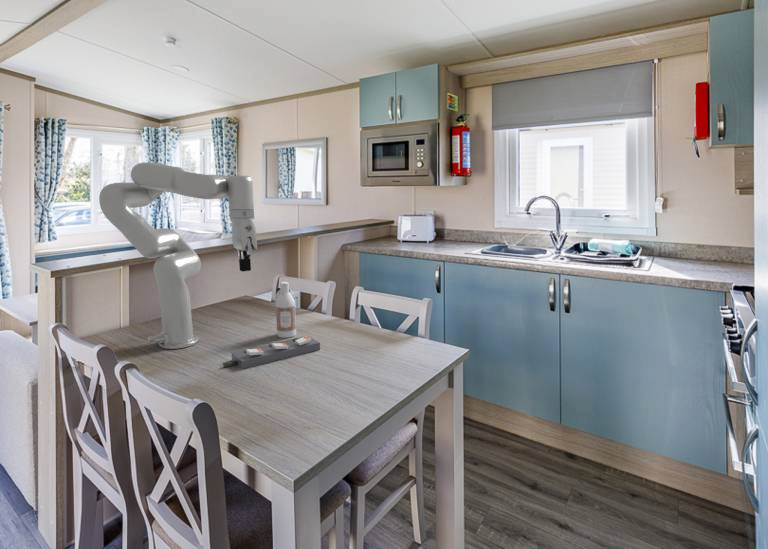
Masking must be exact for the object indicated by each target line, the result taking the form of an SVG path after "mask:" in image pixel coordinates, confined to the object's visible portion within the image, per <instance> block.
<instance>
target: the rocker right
mask: <svg viewBox="0 0 768 549" xmlns="http://www.w3.org/2000/svg"><path fill="white" fill-rule="evenodd" d="M304 336H305V337H303V336H301V337H302V338H300V339H297V340H295V343H296V344H298V345H303V344H305V343H307V342H310V341H311V338H312V337H311V338H309V337H310V336H309V335H304ZM308 336H309V337H308Z"/></svg>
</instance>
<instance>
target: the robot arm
mask: <svg viewBox="0 0 768 549" xmlns="http://www.w3.org/2000/svg"><path fill="white" fill-rule="evenodd" d="M130 177H131V180H132V181H133V182H113V183H109V184H107V185H105V186H104V187H103V188H102V189H101V190H100V193H99V197H98V200H99V202H98V203H99V206H100V210H101V211H102V214H103V216H104V217H105V218H106V219H107V220H108V222H109V223H111V224H112V225H113V226H114V227H115V228H116V229H117V230H118V231H119V232H120V233H121V234H122V235H123V236H124V237H125V239H127V240H128V242H130V243H129V244H131V245H132V246H133V248H134V249H136V251H137V252H139V254H140V255H142V256H143V258H146V259H155V258H158V259H157V260H156V261H155V262H154V264H153V275H154V278H155V283H156V284H157V286H156V287H157V289H158V296H159V304H160V315H161V324H162V325H161V326H162V331H160V333H158V334H157V335H152V336H148V338H147V340H148V343H154V344H156V343H158V345H159V347H160V348H162V349H165V350H175V349H176V350H177V349H184V348H189V347H191V346H194V345H196V344H197V343H198V342H199V337H198V336H197V335H196V334H194V329H193V318H192V307H191V306H192V304H191V298H190V297H191V296H190V290H189V287H188V285H187V284H186V282H185V280H186V279H188V278H191V277H194V276H196V275H197V274H198V273H199V272H200V271H201V270H202V269H201V268H202V261H201V259H200V257H199V255H198V254H197V252H195V250H194V249H193V248H192V247H191V246H190V245H189V244H188V243H187V241H186V240H185V239H184V238H183V237H182V236H181V235H180V234H179V233H178V232H177V231H175V230H173V229H171V228H165V227H163V228H154V227H153V226H152V225H151V224H149V222H148V221H147V220H146V219H145V218H144V217H143V216H142V215H141V214H139V213H138V212H135V211H134V210H133V209H132V208H141V207H146V206H149V205H150V204H151V203H153V202H154V201H155V200H156V199H158V198H159V197H160V196H161V195H162V194H164V192H165V193H172V194H176V195H181V196H184V197H190V198H195V199H196V198H197V199H201V200H217V199H218V200H220V199H228V207H229V220H231V228H232V229H231V238H232V239H231V240H232V245H233V246H232V247H233V248H234V249H236V251H237V254H238V255H237V256H238V263H239V264H238V266H239V271H241V272H251V271H252V265H251V259H252V258H251V256H252V255H253V251H256V250H257V249H258V241H257V232H256V231H257V230H256V225H255V221H254V220H255V210H254V209H255V206H254V205H255V204H254V190H253V189H254V188H253V178H252V177H251V176H249V175H226V174H204V173H197V172H191V171H190V172H189V171H186V170H184V169H183V168H182V167H180V166H172V165H168V164H165V163H161V162H145V161H144V162H139V163H136V164H135V165H134V166H133V167H132V169H131V172H130Z"/></svg>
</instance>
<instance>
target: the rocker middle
mask: <svg viewBox="0 0 768 549" xmlns="http://www.w3.org/2000/svg"><path fill="white" fill-rule="evenodd" d="M271 344H272V347H274V348H275V349H288V347H289V346H288V345H286V344H285V343H277V342H273V343H271Z"/></svg>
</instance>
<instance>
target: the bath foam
mask: <svg viewBox="0 0 768 549" xmlns="http://www.w3.org/2000/svg"><path fill="white" fill-rule="evenodd" d="M296 315H297V314H296V301H295V299H294V297H293V295H292V294H291V293H290V284H289V282H288V281H281V282H280V294H279V295H278V297H277V299H276V300H275V317H276V318H275V319H276V334H277V337H279V338H282V339H283V338H284V339H287V338H294V337H295V336H297V321H296V320H297V319H296Z"/></svg>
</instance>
